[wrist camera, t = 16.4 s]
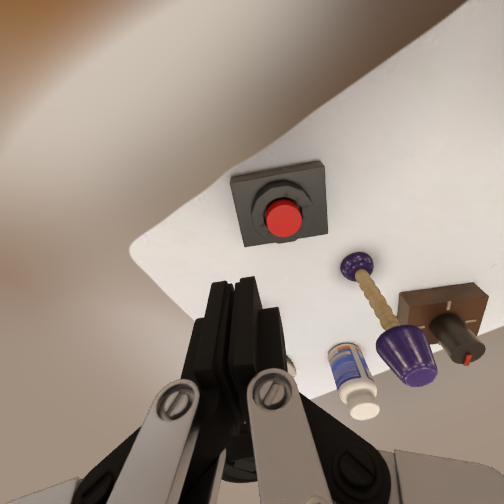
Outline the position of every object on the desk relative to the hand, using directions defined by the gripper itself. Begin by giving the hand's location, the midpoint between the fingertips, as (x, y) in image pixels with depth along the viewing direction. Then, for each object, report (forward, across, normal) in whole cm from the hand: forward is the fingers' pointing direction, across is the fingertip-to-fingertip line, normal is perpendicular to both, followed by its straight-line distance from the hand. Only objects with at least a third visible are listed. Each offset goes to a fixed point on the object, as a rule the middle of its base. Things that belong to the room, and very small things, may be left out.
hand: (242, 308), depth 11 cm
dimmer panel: (+24, -22, +26) cm, 41 cm away
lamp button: (+20, -3, +5) cm, 21 cm away
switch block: (+23, -2, +5) cm, 24 cm away
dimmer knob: (+20, -22, +26) cm, 40 cm away
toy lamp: (+24, -11, +16) cm, 31 cm away
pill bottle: (+24, -9, +33) cm, 42 cm away
